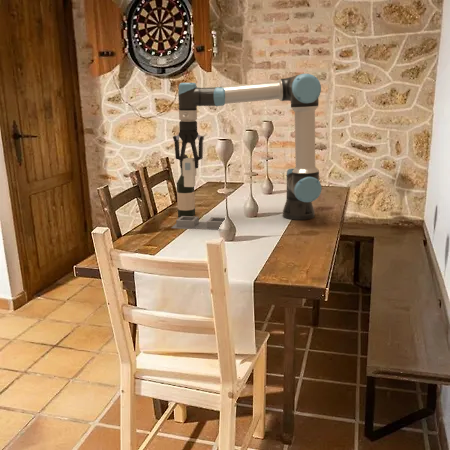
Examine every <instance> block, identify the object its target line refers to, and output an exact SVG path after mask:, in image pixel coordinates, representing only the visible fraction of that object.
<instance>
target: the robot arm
mask: <svg viewBox="0 0 450 450" xmlns="http://www.w3.org/2000/svg"><path fill="white" fill-rule="evenodd" d="M177 89H178V92H177V93H178V95H177V96H178V99H177V100H178V117H179V118H178V119H179V123H178V125H179V128H178V129H179V132H178V134H176V135H173V136H172V139H173V141H174V151H175V152H174V154H175V155H174V156H175V159H176V160H177V161H179V167H180V169H181V168H182V172H183V176H184V164H183V159H184V156H185V155H186V151H187V150H186V148H187V144H190V146H191V150H192V154H193V158H194V161H193V176H195V177H196V176H197V169H198V168H199V162H200V160H202V159H203V158H204V157H203V156H204V155H203V153H204V152H203V151H204V149H203V148H204V147H203V146H204V139H205V136H204V135H200V134H199V132H198V121H197V119H198V109H197V107H222V106H225V105H226V104H239V103H248V102H249V103H250V102H260V101H271V100H278V101H280V102H287V101H288V102H289V101H290V109H292V111H293V113H294V146H295V147H294V151H295V154H294V155H295V157H294V158H295V159H294V160H295V166H294V167H295V168H287V171H286V200H285V204H284V206H283V209H282V217H283V218H284V219H288V220H295V221H302V220H303V221H305V220H310V219H313V218H315V213H316V212H315V209H314V205H313V202H314V201H316V200H318V198H319V197H320V196H321V194H322V189H323V188H322V184H321V181H320V171H319V168H317V166H316V110H317V109H318V108H319V99H320V96H321V92H322V85H321V82H320V80H319V79H318V78H317V76H315V75H313V74H310V73H301V74H297V75H293V76H288V77H285V78H279V79H278V80H277V81H270V82H269V81H267V82H258V83H257V82H256V83H250V84H247V83H245V84H237V85H226V86H216V87H197V83H196V82H180V83H179V84H178V88H177ZM179 140H181V148H180V141H179ZM196 140H198V150H197V146H196Z"/></svg>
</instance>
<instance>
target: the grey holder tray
mask: <svg viewBox="0 0 450 450" xmlns="http://www.w3.org/2000/svg"><path fill="white" fill-rule="evenodd" d="M225 218H226V217H215V216H214V217H213V216H211V217H210V218H209V219H208V220H207V221H200V220H199V216H195V215H194V216H181V217H180V218H179V217H178V218H177V219H176V220H175V221H176V223H175V224H174V225H172V226H171V227H170V228H171V229H177V230H178V229H182V230H183V229H184V230H205V231H206V230H207V231H209V230H210V231H219V230H218V229H219V227H220V225H221V224H222V222H223V221H224V220H225Z"/></svg>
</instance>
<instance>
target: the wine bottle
mask: <svg viewBox="0 0 450 450" xmlns="http://www.w3.org/2000/svg"><path fill="white" fill-rule="evenodd" d="M185 158H189V156H188V155H187V154H185V156H184V159H185ZM180 170H181V171H180V173H181V175H180V176H179V178H178V180H177V181H176V199H177V201H176V202H177V218H178V219H179V218H180V217H181V216H194V217H195V215H196V198H195V186H194V187H184V176H183V172H182V168H180Z"/></svg>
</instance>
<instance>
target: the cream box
mask: <svg viewBox="0 0 450 450" xmlns="http://www.w3.org/2000/svg"><path fill="white" fill-rule="evenodd" d="M193 161H194V157H188V158H185V159H183V164H184V187H194V188H195V186H196V176H193Z"/></svg>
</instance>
